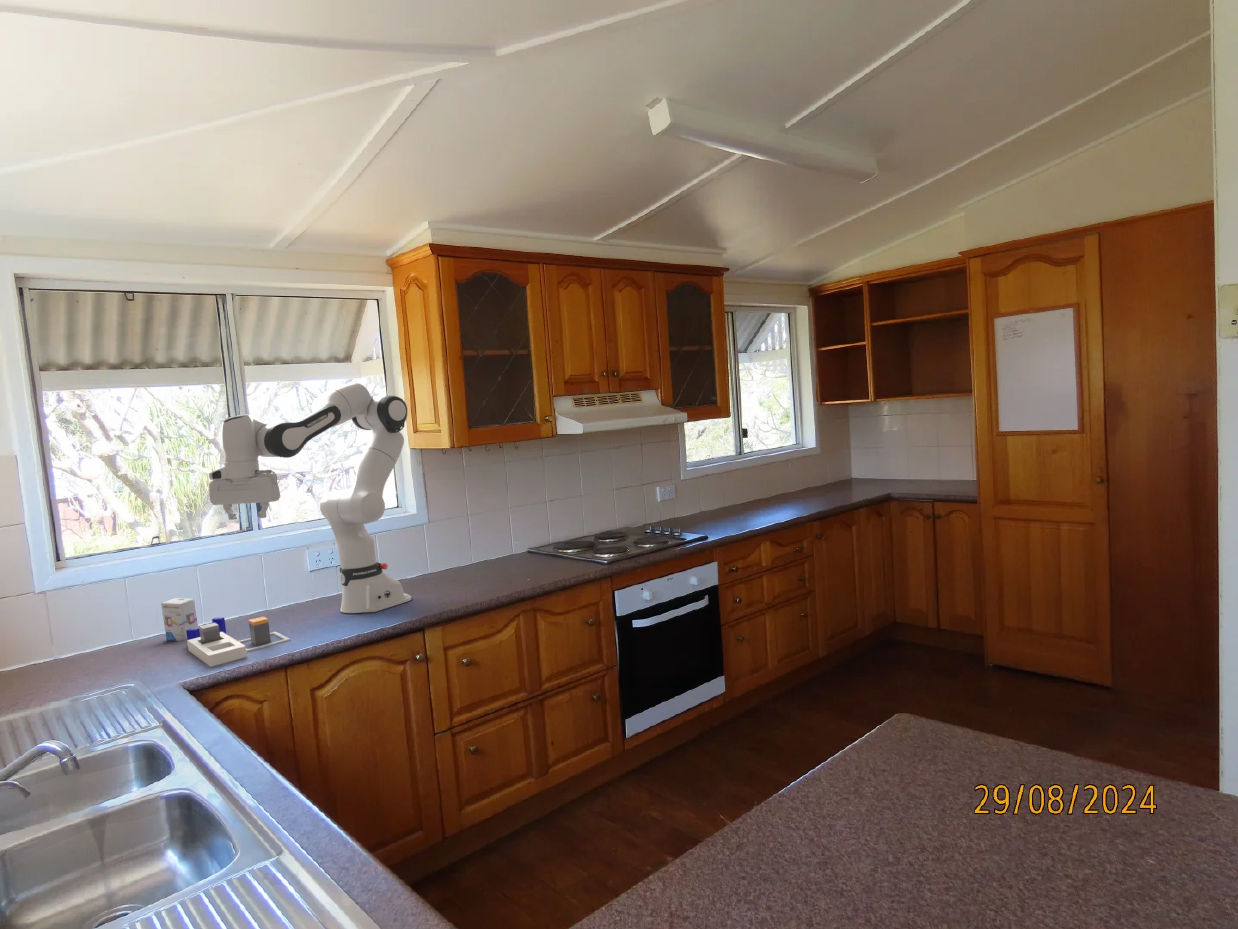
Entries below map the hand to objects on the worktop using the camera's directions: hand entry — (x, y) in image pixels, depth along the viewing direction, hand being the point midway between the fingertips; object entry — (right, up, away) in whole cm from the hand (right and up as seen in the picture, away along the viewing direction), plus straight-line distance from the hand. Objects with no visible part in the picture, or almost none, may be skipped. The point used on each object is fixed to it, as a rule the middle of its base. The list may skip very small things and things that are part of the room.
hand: (247, 518), depth 222 cm
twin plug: (-6, -36, -9) cm, 37 cm away
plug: (+6, -35, -5) cm, 36 cm away
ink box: (-24, -37, +10) cm, 45 cm away
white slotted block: (-2, -37, -12) cm, 39 cm away
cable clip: (-14, -37, +3) cm, 40 cm away
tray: (+6, -36, -4) cm, 36 cm away
